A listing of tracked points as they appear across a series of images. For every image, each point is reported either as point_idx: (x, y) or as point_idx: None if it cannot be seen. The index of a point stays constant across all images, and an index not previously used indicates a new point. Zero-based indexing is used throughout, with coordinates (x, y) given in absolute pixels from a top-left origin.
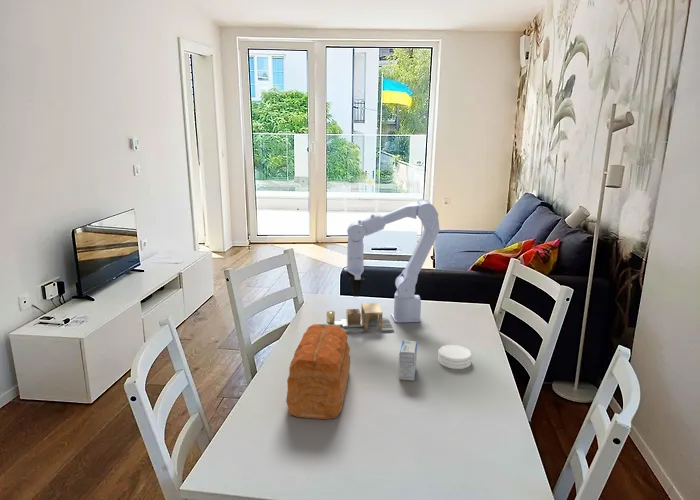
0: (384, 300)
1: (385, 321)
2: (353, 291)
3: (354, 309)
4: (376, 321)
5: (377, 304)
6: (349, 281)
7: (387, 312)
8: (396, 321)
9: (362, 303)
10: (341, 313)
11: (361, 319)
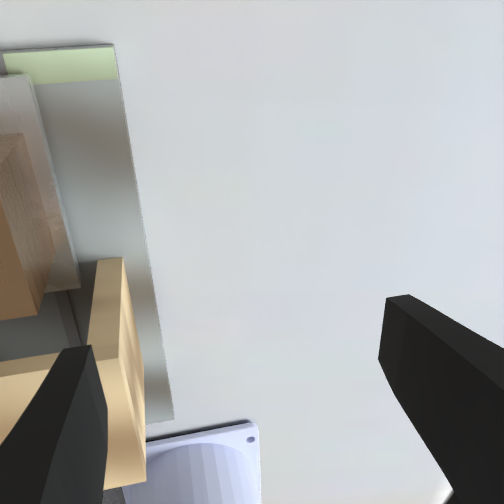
0: None
1: None
2: (33, 420)
3: (9, 270)
4: None
5: None
6: (471, 364)
7: (294, 400)
8: None
9: (114, 367)
10: (313, 79)
11: (59, 272)
